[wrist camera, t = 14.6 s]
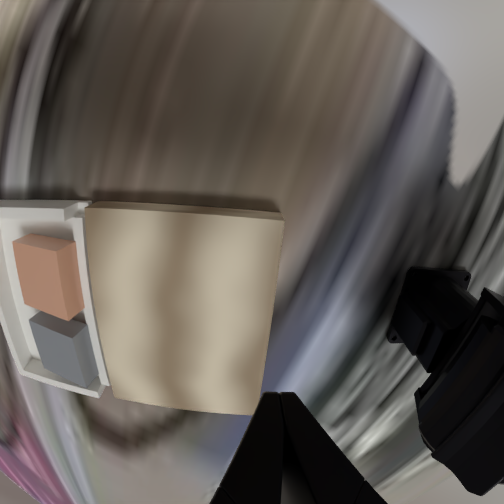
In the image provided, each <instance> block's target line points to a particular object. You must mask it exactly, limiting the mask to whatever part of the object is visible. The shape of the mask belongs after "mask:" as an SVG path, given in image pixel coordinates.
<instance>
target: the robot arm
mask: <svg viewBox="0 0 504 504" xmlns="http://www.w3.org/2000/svg"><path fill="white" fill-rule="evenodd" d="M414 272H415V275H413V276H412V274H413V273H414ZM465 276H466V277H465ZM464 278H465V279H464ZM470 279H471V274H470V273H469V272H468V271H465V270H452V269H440V268H427V267H411V268H410V269H409V270H408V272H407V275H406V278H405V282H404V285H403V289H402V292H401V295H400V296H399V299H398V302H397V305H396V309H395V312H394V315H393V318H392V321H391V326H390V329H389V332H388V335H387V339H388V341H389V342H390V343H404V344H405V345H406V347H407V348H408V350H409V351H410V353H411V354H412V355H413V356H414V355H416V357H417V358H418V360H419V361H420V363H421V364H422V366H423V367H424V369H425V370H426V372H427V373H431V374H430V376H429V377H428V378H427V380H426V381H425V382H424V384H423V385H422V386H421V387H419V388H418V389H417V390H416V392H415V393H414V396H415V402H416V408H417V413H418V420H419V431H420V433H421V437H422V439H423V442H424V443H425V444H426V446H427V447H428V448H429V449H430V450H431V452H432V453H431V456H432V457H433V458H434V459H436V460H437V461H439V462H441V463H442V464H444V465H445V466H446V467H447V468H448V469H450V470H451V471H452V472H453V473H454V474H455V476H456V477H457V478H458V479H459V481H460V482H461V483H462V485H463V486H464V487H465V489H466V490H467V491H469V492H471V493H474V494H476V495H479V496H483V495H485V494H486V493H487V492H488V491H490V490H491V489H492V488H493V487H495V486H496V485H497V484H504V297H503V296H501V295H499V294H497V293H495V292H493V291H491V290H490V289H488V288H486V287H484V289H483V291H482V292H481V297H480V299H479V301H478V300H477V299H476V298H475V297H473V296H472V295H471V294H470V293H469V292H467V288H468V285H469V282H470ZM393 336H394V337H393ZM392 337H393V338H392ZM209 504H388V503H387V502H386V501H385V500H384V499H383V498H382V497H381V496H380V495H379V494H378V493H377V492H376V491H375V490H374V489H373V488H372V486H371V485H370V484H369V483H368V482H367V481H366V480H365V481H364V477H363V476H362V475H361V474H360V473H359V471H358V470H357V469H356V468H355V467H354V465H353V464H352V463H351V462H350V461H349V460H348V458H347V457H346V456H345V455H344V454H343V452H342V451H341V450H340V449H339V447H338V446H337V445H336V444H335V443H334V441H333V440H332V439H331V438H330V436H329V435H328V434H327V433H326V432H325V430H324V429H323V428H322V427H321V425H320V424H319V423H318V422H317V420H316V419H315V418H314V417H313V415H312V414H311V413H310V411H309V410H308V409H307V408H306V406H305V405H304V404H303V403H302V401H301V400H300V399H299V397H298V396H297V395H296V394H295V393H294V392H280V393H278V392H263V394H262V396H261V398H260V400H259V403H258V405H257V407H256V409H255V412H254V414H253V416H252V418H251V420H250V423H249V425H248V427H247V429H246V431H245V433H244V436H243V438H242V440H241V442H240V444H239V446H238V448H237V450H236V452H235V455H234V457H233V459H232V461H231V463H230V465H229V467H228V469H227V471H226V473H225V475H224V477H223V479H222V481H221V483H220V485H219V487H218V488H217V490H216V492H215V494H214V496H213V498H212V500H211V502H210V503H209Z"/></svg>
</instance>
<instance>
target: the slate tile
mask: <svg viewBox="0 0 504 504" xmlns="http://www.w3.org/2000/svg"><path fill="white" fill-rule="evenodd" d="M29 323H30V327H31V330H32V334H33V337H34V340H35V343H36V346H37V349H38V352H39V355H40V358H41V361H42V364H43V366H44V368H45V369H47V370H49V371H51V372H53V373H55V374H57V375H59V376H61V377H63V378H65V379H67V380H70V381H72V382H74V383H76V384H78V385H80V386H83V387H85V388H88V386H89V385H90V384H91V383H92V382H93V380H94V379H95V378H96V377H97V376H98V374H99V371H98V368H97V364H96V360H95V356H94V352H93V347H92V343H91V338H90V334H89V329H88V325H87V324H84V323H82V322H79V321H76V320H73V319H71V320H70V321H67V320H64V319H61V318H58V317H56V316H53V315H51V314H48V313H45V312H43V311H40V312H38V313H37V314H36V315H34V316H33V317H32V318H30V319H29Z"/></svg>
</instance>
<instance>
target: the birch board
mask: <svg viewBox="0 0 504 504" xmlns="http://www.w3.org/2000/svg"><path fill="white" fill-rule="evenodd" d="M84 209H85V227H86V241H87V252H88V262H89V271H90V279H91V286H92V293H93V300H94V306H95V312H96V318H97V324H98V329H99V334H100V339H101V344H102V349H103V353H104V358H105V362H106V366H107V370H108V374H109V378H110V382H111V386H112V389H113V393H114V397H115V398H119V399H124V400H129V401H134V402H140V403H145V404H151V405H157V406H163V407H170V408H177V409H185V410H193V411H202V412H213V413H225V414H239V415H253V414H254V412H255V409H256V407H257V405H258V403H259V398H260V392H261V385H262V379H263V373H264V367H265V360H266V354H267V347H268V341H269V334H270V327H271V320H272V313H273V306H274V299H275V292H276V285H277V278H278V270H279V263H280V255H281V247H282V240H283V232H284V224H285V220H284V218H283V216H282V214H281V213H278V212H267V211H256V210H244V209H232V208H219V207H205V206H190V205H174V204H156V203H137V202H113V201H97V202H95V203H93V204H91V205H89V206H87V207H85V208H84Z"/></svg>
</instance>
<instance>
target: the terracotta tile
mask: <svg viewBox="0 0 504 504" xmlns="http://www.w3.org/2000/svg"><path fill="white" fill-rule="evenodd" d="M12 244H13V250H14V256H15V262H16V268H17V273H18V278H19V282H20V287H21V291H22V296H23V300H24V304H26V305H28V306H31V307H33V308H35V309H38V310H40V311H43V312H45V313H48V314H51V315H53V316H56V317H58V318H61V319H64V320H67V321H70V320H71V319H72V318H73V317H74V316H76V315H77V314H78V313H79V312H80V311H82V310H83V309H84V308H85V306H84V300H83V294H82V288H81V281H80V274H79V267H78V259H77V250H76V241H70V240H65V239H59V238H54V237H48V236H43V235H37V234H32V233H30V234H28V235H25V236H23V237H21V238H19V239H16V240H14V241H12Z"/></svg>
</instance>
